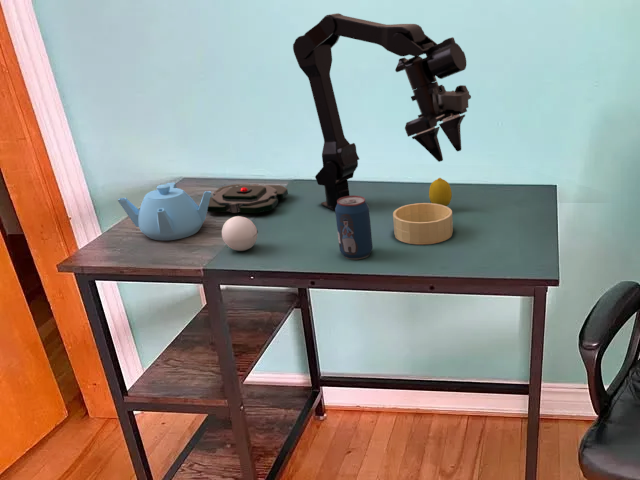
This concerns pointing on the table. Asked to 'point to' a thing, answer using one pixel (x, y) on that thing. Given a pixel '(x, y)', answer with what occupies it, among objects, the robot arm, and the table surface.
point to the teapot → (168, 213)
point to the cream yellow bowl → (423, 223)
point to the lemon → (440, 192)
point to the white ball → (239, 233)
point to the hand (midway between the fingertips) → (450, 155)
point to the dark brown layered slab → (246, 198)
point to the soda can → (353, 227)
